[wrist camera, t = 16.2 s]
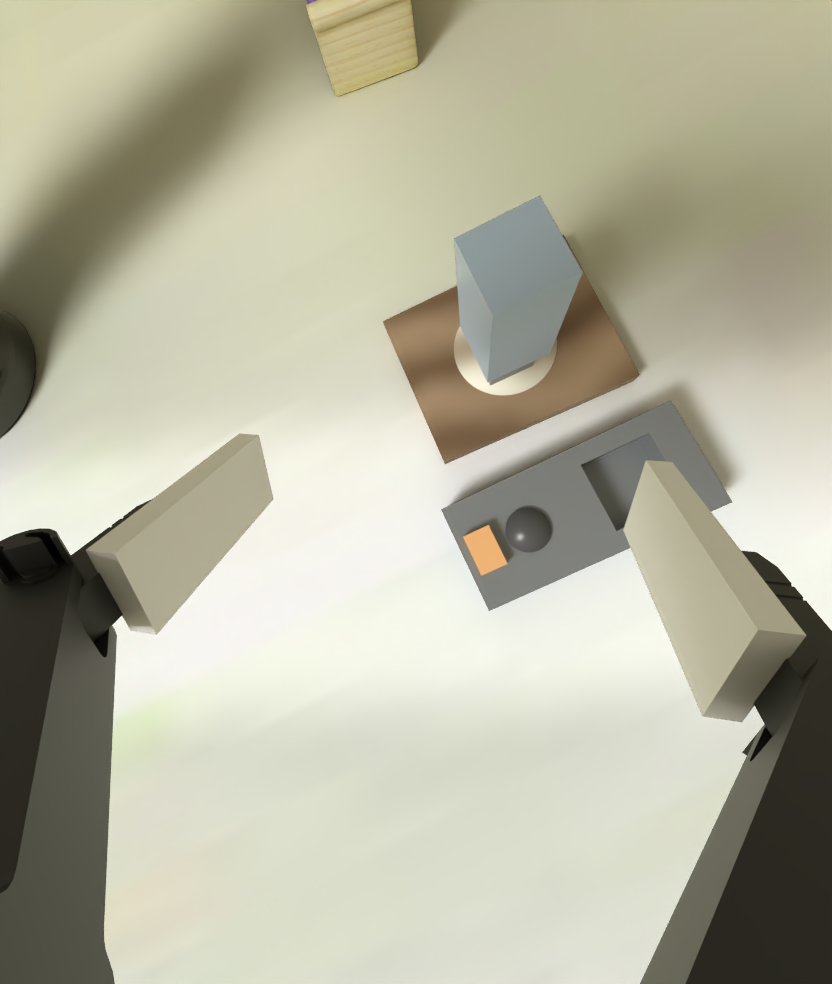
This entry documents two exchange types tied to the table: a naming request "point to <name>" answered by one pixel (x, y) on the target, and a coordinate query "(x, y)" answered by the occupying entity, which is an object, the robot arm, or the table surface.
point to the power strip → (571, 506)
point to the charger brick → (514, 288)
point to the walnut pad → (517, 399)
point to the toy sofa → (363, 40)
